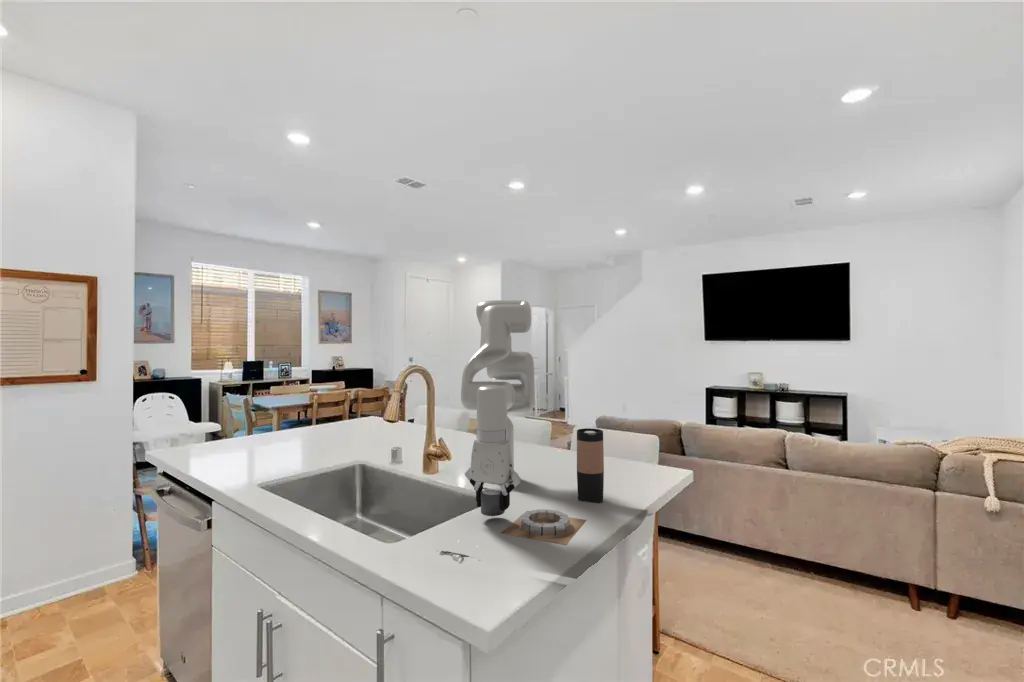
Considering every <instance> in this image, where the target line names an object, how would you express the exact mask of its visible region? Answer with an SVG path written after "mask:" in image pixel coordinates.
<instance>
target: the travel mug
mask: <svg viewBox="0 0 1024 682" xmlns="http://www.w3.org/2000/svg"><path fill="white" fill-rule="evenodd" d="M604 451H605V450H604V430H602V429H599V428H590V427H588V428H587V427H585V428H579V429H577V430H576V479H577V480H576V483H577V487H576V488H577V501H578V502H585V503H592V504H599V505H601V504H602V503H603V502H604V481H605V479H604V477H605V459H604V457H605V456H604V454H605V453H604Z"/></svg>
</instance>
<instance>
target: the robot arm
mask: <svg viewBox="0 0 1024 682" xmlns="http://www.w3.org/2000/svg"><path fill="white" fill-rule="evenodd" d="M475 310H476V311H475V312H476V317H477V321H478V323H479V326H480V341H479V342H480V345H479V349H478V350H477V351H476V352H475V353H474V354H473V355H472V356H471V357H470V358H469V360H468V361H467V362H466V364H465V365H464V368H463V371H462V374H461V375H462V377H461V385H460V386H461V387H460V389H461V390H460V400H461V401H460V402H461V404H462V406H463V408H464V409H466V410H468V411H476V429H475V428H474V429H472V434H473V435H475V436H476V439H474V440H473V443H472V449H471V456H470V466H469V468H468V470H466V471H465V472H464V476H465V478H467V480H468V481H469V483H470V484H471V486H472V487H473V490H474V491H475V502H476V507H477V508H481V490H482V489H483V488H484V485H485V484H492V485H497V486H499V487H500V488H501V490H502V495H501V511H506V510H507V509H509V507H510V503H511V502H510V501H511V499H510V497H511V495H510V494H511V492H512V491H513V490H514V489H515V488H517V486H519V484H520V483H522V481H523V480H522V479H521V477H520V476H519V473H518V472H516V470H515V452H514V451H515V449H514V448H515V447H514V446H515V445H514V440H515V438H514V437H515V436H514V433H515V429H514V424H513V422H512V420H511V419H510V417H509V416H508V413H526V412H527V413H529V412H531V411H532V410H533V409H534V408H535V396H536V395H535V390H536V388H535V363H534V358H533V356H532V354H531V353H530V352H529V351H528V352H527V351H513V350H512V336H511V333H513V334H517V333H518V334H521V333H524V334H525V333H528V332H529V331H530V329H531V326H532V310H531V306H530V303H529V302H528V301H527V300H523V299H521V300H519V299H518V300H516V299H515V300H514V299H513V300H505V299H503V300H502V299H500V300H497V299H496V300H483V301H480V302H479V303H478V304H477V306H476V309H475ZM483 369H486V374H487V376H488V378H490V379H491V380H494V381H485V380H483V381H482V380H481V381H473V380H474V377H475V376H476V375H477V374H478V373H479V372H480V371H482V370H483ZM495 380H496V381H495ZM509 381H519V382H520V383H510V382H509ZM510 482H512V483H510Z"/></svg>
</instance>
